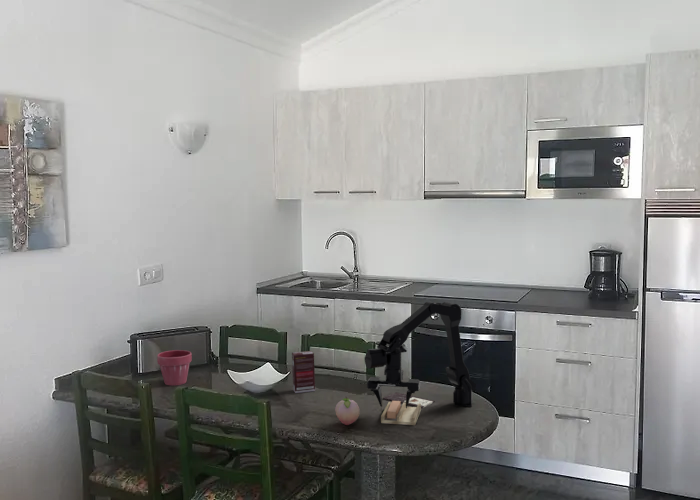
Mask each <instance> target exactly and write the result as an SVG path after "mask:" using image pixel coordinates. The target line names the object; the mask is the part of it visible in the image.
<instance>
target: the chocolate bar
mask: <svg viewBox="0 0 700 500" xmlns="http://www.w3.org/2000/svg"><path fill="white" fill-rule="evenodd" d="M406 394H407V393H400V392H393V393H391V394H389V395H386V396H384V397H382V400H384V401H388V402H392V401H401V405H403V403H406ZM418 403H419V404H421V409H423V408H425V407H428V406H430V405H432V404H434V403H435V400H434V399H428V398H424V397H420V396H416V395H411V397H410V400H409V403H408V406H409V407H417V405H418Z"/></svg>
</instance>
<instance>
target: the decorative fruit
mask: <svg viewBox="0 0 700 500" xmlns="http://www.w3.org/2000/svg"><path fill="white" fill-rule="evenodd" d="M334 409H335V414H336V417H337V419H338V420H339V421H340V422H341V423H342V424H343V425H346V426H349V425H352V424H353V423H355V422H356V421H357V420H358V418H359V416H360V414H361V412H360V411H361V408H360V406H359V405H358V403H357V402H356V401H355V400H353V399H350V398H348V397H346V398H342V399H341V400H340V401H338V402H337V403H336V405H335V408H334Z"/></svg>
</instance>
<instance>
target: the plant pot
mask: <svg viewBox="0 0 700 500" xmlns="http://www.w3.org/2000/svg"><path fill="white" fill-rule="evenodd" d="M192 355H193V354H192V352H191V351H189V350H182V349H174V350H166V351H162V352H160V353H157V357H156V359H157V365H158V366H159V368H160V372H161V374H162V379H163V383H164V385H166V386H180V385H184V384H186V383H187V379H188V374H189V371H190V365H191V364H190V363H191V362H192V359H193V357H192Z"/></svg>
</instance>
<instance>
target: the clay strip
mask: <svg viewBox="0 0 700 500" xmlns="http://www.w3.org/2000/svg"><path fill="white" fill-rule="evenodd" d="M391 402H392V403H391V405H390V407H389V409H388V411H387V418H392V419H396V417H397V414H398V412H399V410H400V408H401V406H402V404H401V401H391Z"/></svg>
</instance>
